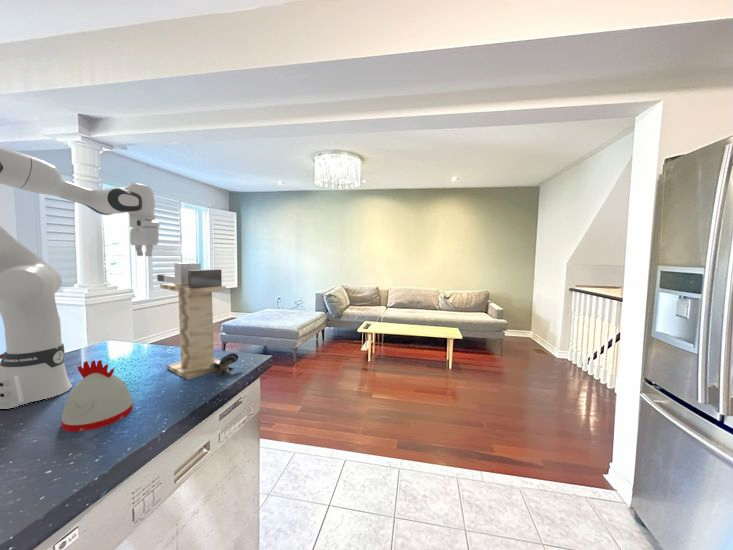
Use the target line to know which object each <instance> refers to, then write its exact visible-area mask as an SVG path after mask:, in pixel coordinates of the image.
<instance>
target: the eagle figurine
mask: <svg viewBox="0 0 733 550" xmlns="http://www.w3.org/2000/svg"><path fill="white" fill-rule="evenodd" d="M238 359H239V355H238V354H237V353H229V354H227V355H225V356H223V357H221V360H220V363H219V364H217V363H215V362H214V363H212V364H210V365H209V367H210V368H211V369H217V371H214V372H213V373H216V378H219V377H220V376H221V373H222V371H223V372H226V373H229V374H231V370H230V369H232V367H231V366H229V365H231V364H233V363H236V362H238Z"/></svg>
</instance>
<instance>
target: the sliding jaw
mask: <svg viewBox="0 0 733 550" xmlns="http://www.w3.org/2000/svg"><path fill="white" fill-rule="evenodd" d="M201 265H202V264H201V262H174V275H172V274H165V273H164V274H156V277H157V279H156V280H157V281H158V282H164V283H169V284H170V283H175V285H180V286H184V285H188V270H202V268H201V267H202V266H201Z"/></svg>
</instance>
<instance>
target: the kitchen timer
mask: <svg viewBox="0 0 733 550" xmlns="http://www.w3.org/2000/svg"><path fill="white" fill-rule="evenodd" d="M96 363H97V364H96ZM82 365H83V366H82ZM82 365H79V366H77V370H78V372H79V374H80V376H81V377H82V379H81V380H80V381H78V383H77V384H76V385H74V387H73V388H72V390H71V391H70V393H69V395H68V396H67V399H66V401H65V404H64V407H63V411H62V414H61V420H60V421H61V423H60V424H61V429H63V431H65V432H66V431H67V432H72V433H73V432H78V431H79V432H86V431H90V430H91V431H92V430H96V429H99V428H103V427H105V426H109V425H110V424H114V423H116V422H118V421H120V420H122V419H124V418H125V417H127V416H128V415H129V414H131V412H133V411H132V410H133V409H134V408H133V398H132V394H131V392H130V390H129V388H128V386H127V385H126V382H125V381H123V380H122V379H121V378H119V377H118V376H117V375H115V374H114V370H115V367H114V368H112V369H110V371H108V368H109V364H108V363H106V364H104V366H103V362H102V360H101V359H99V360H97V362H96V360H92V361H91V362H90V365H89V362H88V360H85V361H84V362H83V363H82Z"/></svg>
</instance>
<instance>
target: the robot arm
mask: <svg viewBox="0 0 733 550" xmlns="http://www.w3.org/2000/svg"><path fill="white" fill-rule="evenodd" d="M0 184H2V185H5V186H8V187H12V188H14V189H15V188H16V189H18V190H22V191H23V190H24V191H27V192H30V193H35V194H41V195H42V194H43V195H49V196H54V197H58V198H61V199H65V200H67V201H71V202H74V203H78V204H81V205H84V206H86V207H87V208H89V209H90V210H92V211H93V212H95V213H97V214H99V215H101V216H102V215H104V216H110V215H115V214H126V213H128V217H129V227H130V228H131V229H130V234H129V235H130V236H129V243H130V245H131V246H134V248H135V251H136V256H137V257H142V256H144V252H143V246H145V257H152V255H153V253H152V252H153V250H154V246H158V243H159V232H160V231H159V228H160V222H159V221H158V220H156V215H155V207H156V205H155V204H156V203H155V195H154V192H153V189H152V188H151V187H150V186H148V185H146V184H144V183H138V182H131V183H130V184H127V185H124V186H120V187H113V188H107V189H91V188H90V189H89V188H86V187H84V186H81V185H78V184H75V183H72V182H70V181H68V180H65V179H64V178H63V177H62V174H61V172H60V171H59V169H58V168H57V167H56V166H55V165H53V164H51V163H50V162H49V163H48V162H46V161H44V160H42V159H40V158H37V157H34V156H32V155H29V154H25V153H23V152H20V151H16V150H12V149H10V148H5V147H1V146H0ZM61 287H62V277H61V275H60V273H59V272H58V271H57V270H56V269H55V268H53V267H52V266H51V265H50V264H48V263H47V262H46V261H45V260H43V259H42V258H41V257H40V256H38V255H37V254H35V253H34V252H33V251H32V250H31V249H29V248H27V247H26V246H25V245H24V244H22V243H21V242H19V241H18V240H17V239H16V238H14V237H13V236H12V235H11V234H10V233H9V232H8V231H7V230H5V229H4V227H2V226H1V225H0V316H1V318H2V322H3V327H4V335H5V336H4V338H5V348H6V350H5V352H3V353H1V354H0V359H1V360H0V407H2V408H11V407H15V406H18V405H22V404H24V403H29V402H33V401H38V400H42V399H46V400H48V399H47V398H49V399H51V398H50V397H52V398H54V396H55V397H57V395H58V396H60V395H63V394H65V393H67V392H68V391H70V390H71V389H72V387H73V385H72V383H71V381H70V379H69V377H68V374H67V370H66V366H65V362H64V361H65V346H64V344H65V343H63V342H62V325H61V317H60V315H59V312H58V308H57V303H56V295H55V294H56V293H58V291H59V290H60V288H61ZM70 388H71V389H70Z"/></svg>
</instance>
